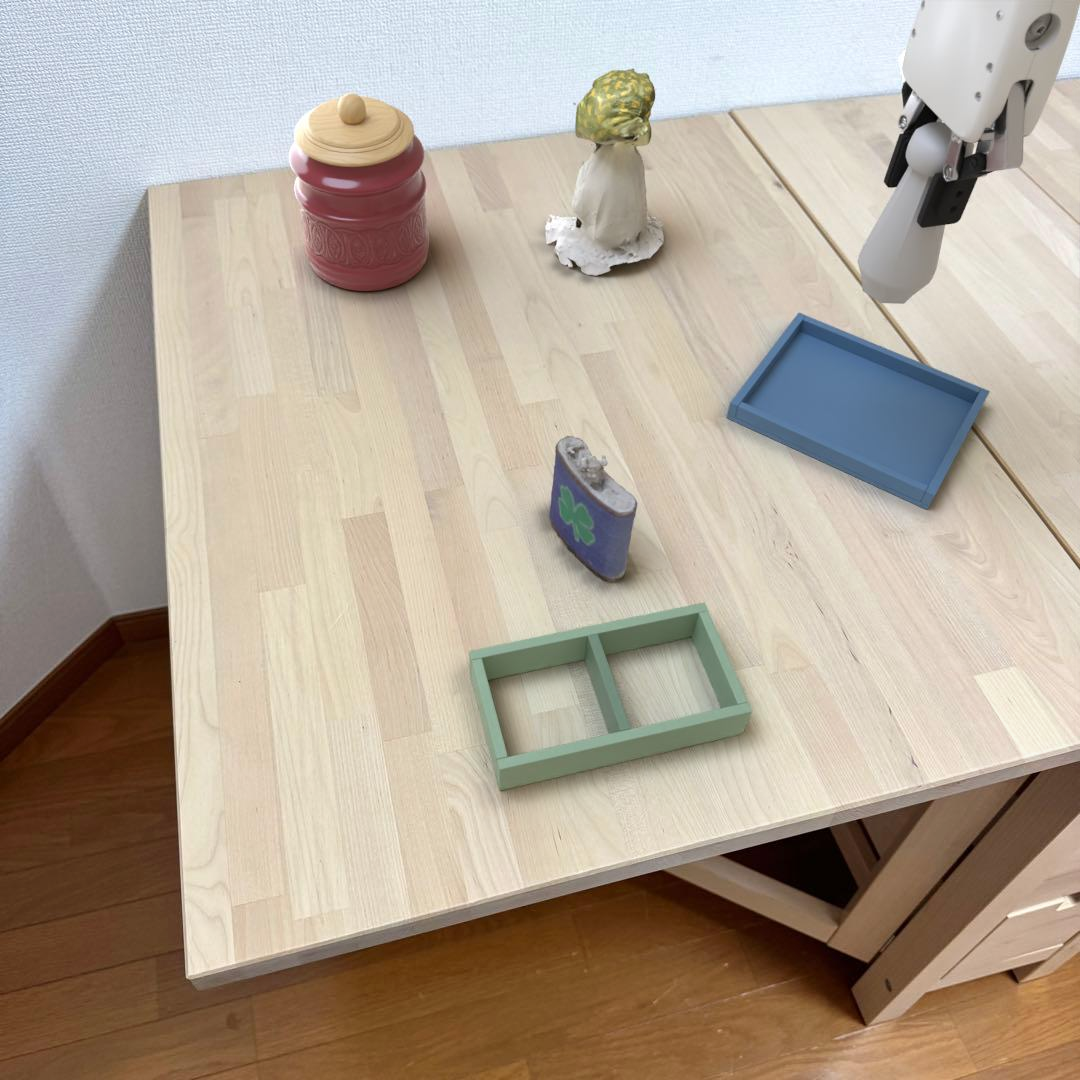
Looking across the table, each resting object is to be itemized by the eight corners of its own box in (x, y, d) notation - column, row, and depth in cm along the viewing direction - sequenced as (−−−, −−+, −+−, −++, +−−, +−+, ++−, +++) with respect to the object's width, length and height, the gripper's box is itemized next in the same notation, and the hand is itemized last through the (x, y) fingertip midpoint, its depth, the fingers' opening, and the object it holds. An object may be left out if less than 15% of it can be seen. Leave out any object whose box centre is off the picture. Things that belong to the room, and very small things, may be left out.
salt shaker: (932, 313, 76) (1000, 158, 66) (858, 311, 76) (914, 155, 66) (915, 266, 80) (977, 111, 70) (844, 263, 80) (895, 108, 70)
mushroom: (686, 249, 109) (717, 85, 94) (596, 292, 104) (614, 126, 89) (615, 196, 114) (634, 34, 100) (526, 235, 109) (533, 70, 95)
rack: (697, 626, 79) (704, 601, 76) (742, 734, 73) (752, 711, 71) (469, 674, 76) (468, 650, 73) (499, 791, 70) (499, 769, 67)
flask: (631, 574, 82) (647, 489, 73) (602, 590, 81) (615, 505, 72) (566, 501, 86) (574, 413, 78) (538, 515, 85) (543, 427, 77)
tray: (981, 406, 95) (990, 390, 94) (927, 510, 87) (934, 495, 86) (793, 327, 101) (798, 312, 100) (725, 417, 93) (730, 402, 92)
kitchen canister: (432, 219, 110) (423, 61, 96) (427, 295, 102) (417, 135, 88) (313, 218, 110) (287, 58, 96) (299, 294, 102) (269, 132, 88)
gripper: (1172, -16, 54) (1028, 266, 68) (1005, -133, 63) (910, 136, 78) (1051, -4, 52) (930, 282, 67) (899, -126, 62) (822, 146, 76)
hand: (920, 200), depth 72 cm, fingers closed on salt shaker, 4 cm apart
